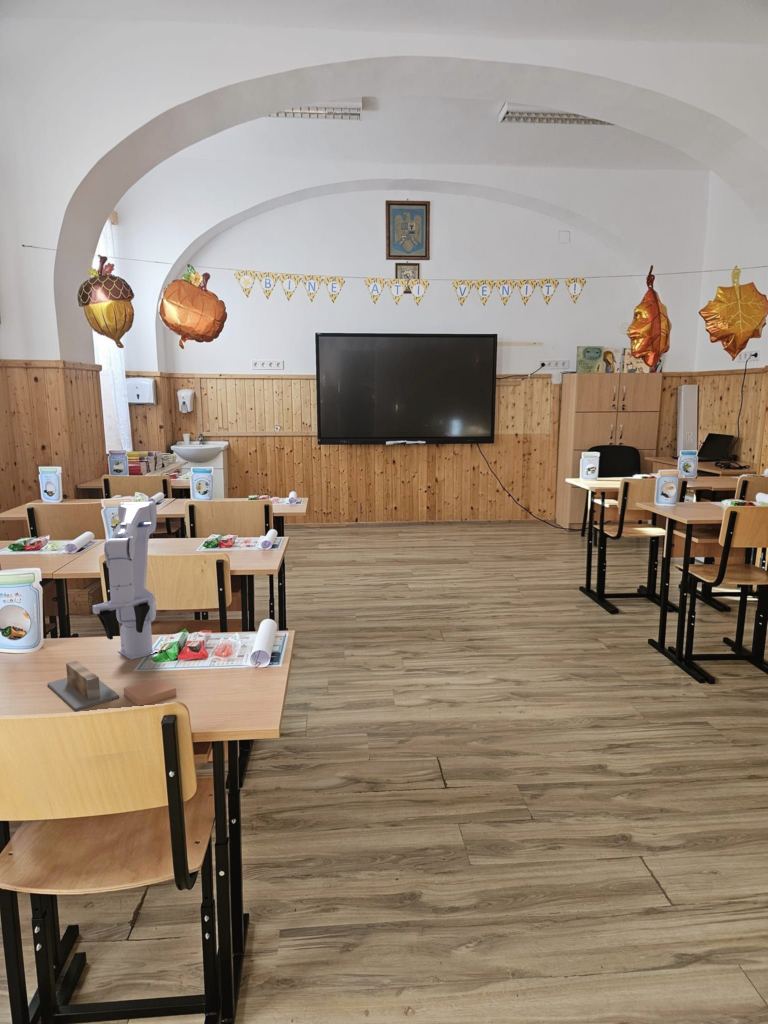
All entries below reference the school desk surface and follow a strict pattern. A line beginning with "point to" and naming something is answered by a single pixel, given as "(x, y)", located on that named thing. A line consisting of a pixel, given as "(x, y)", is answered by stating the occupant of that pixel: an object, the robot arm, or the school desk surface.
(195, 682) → the school desk surface
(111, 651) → the school desk surface
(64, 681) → the mat
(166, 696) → the tile
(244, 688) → the school desk surface
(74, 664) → the brown block
